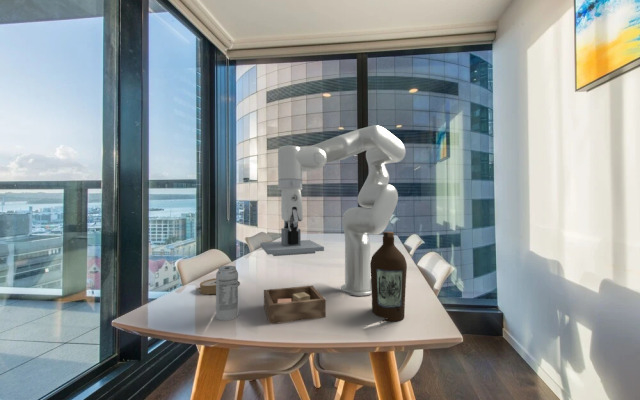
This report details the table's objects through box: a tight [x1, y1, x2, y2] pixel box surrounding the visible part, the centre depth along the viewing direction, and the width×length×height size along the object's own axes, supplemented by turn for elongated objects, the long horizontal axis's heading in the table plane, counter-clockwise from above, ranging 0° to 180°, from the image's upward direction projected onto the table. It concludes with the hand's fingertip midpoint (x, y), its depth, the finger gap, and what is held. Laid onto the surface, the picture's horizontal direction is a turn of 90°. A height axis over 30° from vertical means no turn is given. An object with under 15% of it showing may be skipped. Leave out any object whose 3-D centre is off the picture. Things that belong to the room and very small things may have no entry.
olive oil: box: [370, 231, 408, 323], centre depth 88 cm, size 11×11×25 cm
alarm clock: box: [196, 277, 241, 295], centre depth 111 cm, size 11×5×15 cm
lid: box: [260, 227, 325, 257], centre depth 93 cm, size 17×15×7 cm
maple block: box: [293, 292, 310, 301], centre depth 91 cm, size 4×4×4 cm
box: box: [263, 285, 327, 325], centre depth 88 cm, size 16×14×6 cm
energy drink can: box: [215, 265, 239, 321], centre depth 84 cm, size 6×6×15 cm
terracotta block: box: [278, 299, 291, 303], centre depth 85 cm, size 4×4×4 cm
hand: (290, 242), depth 93 cm, fingers closed on lid, 5 cm apart
